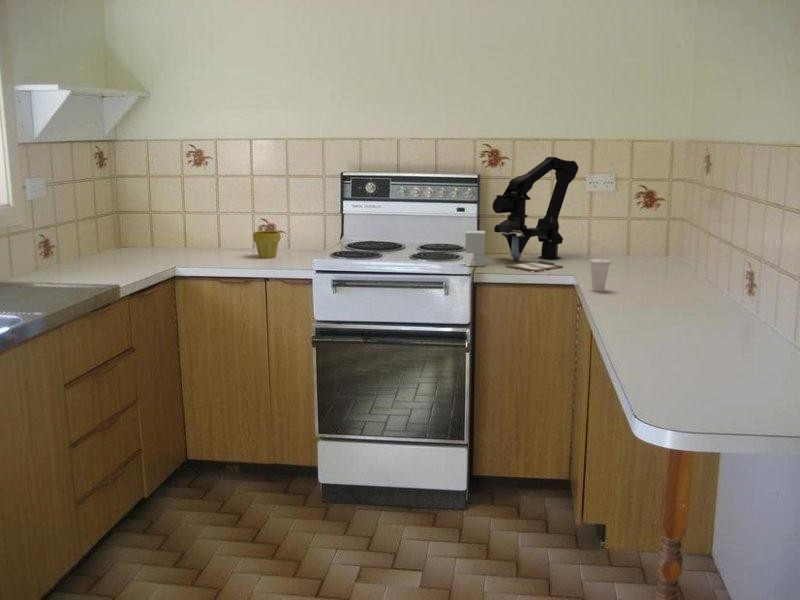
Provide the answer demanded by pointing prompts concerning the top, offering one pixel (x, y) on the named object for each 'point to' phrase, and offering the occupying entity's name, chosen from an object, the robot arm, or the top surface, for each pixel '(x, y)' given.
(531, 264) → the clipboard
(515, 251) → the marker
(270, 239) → the plant pot
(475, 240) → the supplement box
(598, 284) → the smoothie
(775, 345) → the top surface
